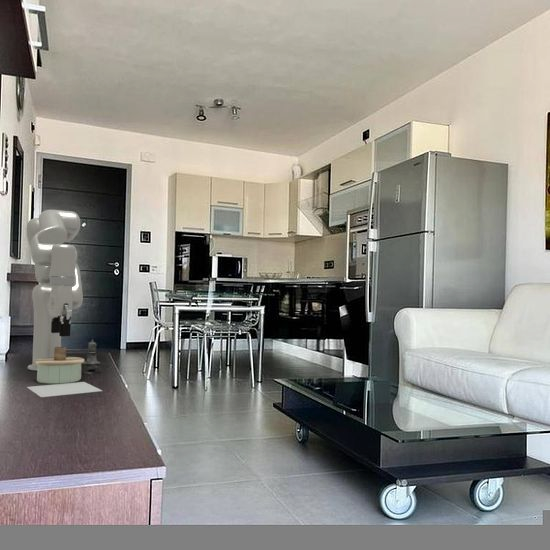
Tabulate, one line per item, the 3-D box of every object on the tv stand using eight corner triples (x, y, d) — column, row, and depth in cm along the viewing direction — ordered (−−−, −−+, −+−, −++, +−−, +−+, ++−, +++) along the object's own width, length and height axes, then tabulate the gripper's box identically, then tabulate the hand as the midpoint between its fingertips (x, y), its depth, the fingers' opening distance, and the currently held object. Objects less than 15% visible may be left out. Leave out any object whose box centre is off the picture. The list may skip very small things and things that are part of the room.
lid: (29, 360, 170) (29, 346, 171) (76, 358, 180) (76, 344, 180) (41, 366, 159) (41, 351, 159) (90, 363, 168) (91, 348, 168)
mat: (26, 388, 156) (26, 386, 156) (84, 383, 166) (84, 381, 166) (41, 398, 142) (41, 397, 142) (102, 392, 153) (102, 390, 153)
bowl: (33, 379, 170) (33, 361, 170) (73, 376, 178) (74, 358, 178) (43, 385, 160) (44, 366, 160) (85, 382, 168) (86, 363, 168)
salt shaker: (94, 374, 183) (95, 340, 183) (79, 373, 184) (80, 339, 184) (103, 371, 188) (104, 338, 189) (88, 371, 190) (89, 338, 190)
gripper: (43, 281, 175) (41, 332, 175) (57, 282, 161) (55, 338, 161) (66, 281, 179) (64, 331, 179) (82, 283, 165) (80, 337, 165)
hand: (60, 334), depth 170 cm, fingers open, 9 cm apart
